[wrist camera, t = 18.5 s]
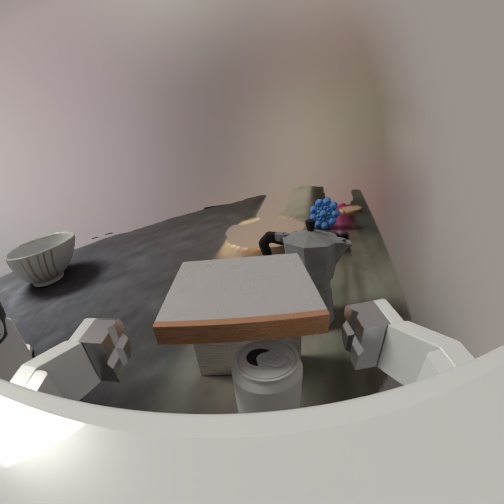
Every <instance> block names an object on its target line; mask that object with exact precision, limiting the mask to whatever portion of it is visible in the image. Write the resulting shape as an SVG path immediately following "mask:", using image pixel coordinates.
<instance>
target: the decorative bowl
mask: <svg viewBox="0 0 504 504" xmlns="http://www.w3.org/2000/svg"><path fill="white" fill-rule="evenodd" d="M74 246H75V234H74V232H59V233H54V234H50V235H46V236H43V237H40V238H37V239H34V240H31V241H29V242H27V243H24V244H22V245H20V246H18V247H16V248H15V249H13V250H11V251H10V252H9V253H8V254H7V255H6V256H5V260H6V262H7V264H8V265H9V267H10V268H11V270H12V271H13V272H14V273H15V274H16V275H17V276H18V277H19V278H21V279H22V280H24V281H26V282H29V283H33V285H34V286H36V287H43V286H47V285H50V284H52V283H54V282H56V281H58V280H59V279H61V278H62V277H63V276H64V271H65V269H66V268H67V267H68V265H69V263H70V261H71V258H72V255H73V252H74Z"/></svg>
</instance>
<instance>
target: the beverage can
mask: <svg viewBox="0 0 504 504" xmlns="http://www.w3.org/2000/svg"><path fill="white" fill-rule="evenodd" d="M232 378H233V384H234V390H235V396H236V401H237V407H238V412H239V414H240V413H257V412H270V411H280V410H289V409H297V408H300V402H301V391H302V378H303V365H302V362H301V360H300V358H299V354H298V352H297V350H296V349H295V348H294V347H293V346H292V345H291V344H289V343H287V342H285V341H282V340H278V339H269V340H258V341H252V342H250V343H247V344H245V345H244V346H242V347H241V348H240V349H239V350H238V352H237V353H236V355H235V358H234V363H233V365H232Z"/></svg>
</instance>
